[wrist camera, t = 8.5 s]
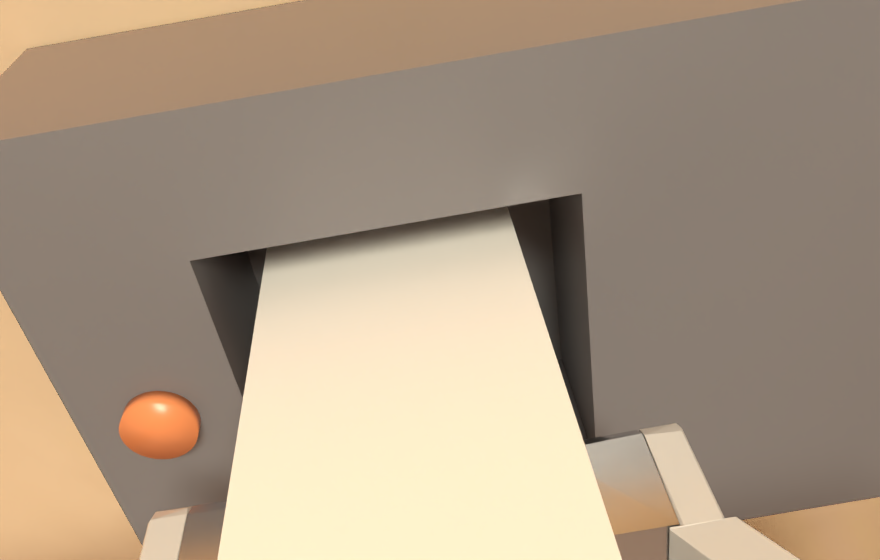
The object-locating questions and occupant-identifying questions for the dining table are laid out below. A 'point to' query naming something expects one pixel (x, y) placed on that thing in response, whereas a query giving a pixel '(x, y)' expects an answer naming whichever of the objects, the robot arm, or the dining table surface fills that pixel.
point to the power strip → (464, 191)
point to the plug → (408, 406)
